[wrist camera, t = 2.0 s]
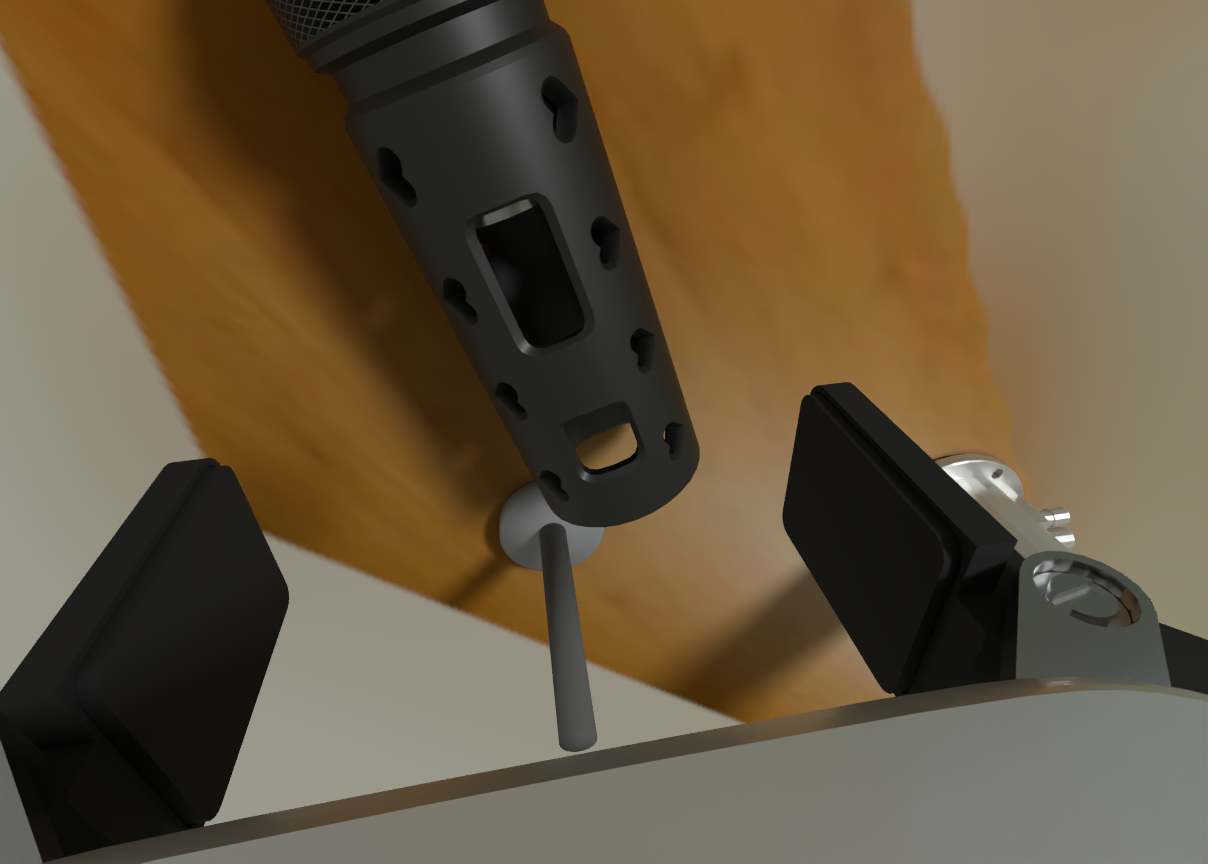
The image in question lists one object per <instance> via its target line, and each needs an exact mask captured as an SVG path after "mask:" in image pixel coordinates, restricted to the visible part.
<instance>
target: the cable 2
mask: <svg viewBox="0 0 1208 864" xmlns="http://www.w3.org/2000/svg"><path fill="white" fill-rule="evenodd" d="M499 532H500V542H501V546H502V548H503V550H504V551H505V553H506V554H507V555H508V556H509V557H510V558H511V559H512V560H513V561H514V562H516V563H518V564H519V565H521V566H524V567H526V568H529V569H533V570H539V571H543V580H544V590H545V601H546V611H547V622H548V632H549V642H550V653H551V662H552V673H553V684H554V694H555V705H556V715H557V725H558V736H559V745H560V747H561V748H562V749H564V750H566V751H570V752H578V751H583V750H586V749H588V748H590V747H591V746H593V745H594V744H595V742H596V741H597V733H596V726H595V720H594V713H593V706H592V700H591V693H590V687H589V680H588V673H587V667H586V660H585V654H584V647H583V640H582V634H581V627H580V621H579V614H578V607H577V601H576V594H575V588H574V581H573V575H572V568H571V567H572V566H574V565H576V564H578V563H580V562H582V561H584V560H585V559H587V558H588V557H589V556H590V555H591V554H592V553H593V552H594V551H595V550H596V549H597V547H598V546H599V544H600V542H601V540H602V538H603V534H604V527H583V526H577V525H573V524H570V523H568V522H566V521H563V520H561V519H560V518H559V517H558V516H556V515H555V514H554V513H553V512H552V510H551V509H550V507H549V506H548V504H547V502H546V501H545V499H544V497H543V495H542V493H541V491H540V489H539V487H538V486H537V484H536V482H535V481H532V482H530V483H527V484H525V485H523V486H522V487H520V488H518V489H517V490H516V491H514V492H513V493H512V494H511V495H510V496H509V497H508V498H507V500H506V501H505V503H504V504H503V507H502V509H501V512H500V518H499Z"/></svg>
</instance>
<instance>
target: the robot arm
mask: <svg viewBox="0 0 1208 864" xmlns="http://www.w3.org/2000/svg"><path fill="white" fill-rule="evenodd" d="M782 516H783V524H784V528H785V530H786V532H787V534H788V536H789V538H790V539H791V541H792V543H793V544H794V546H795V548H796V549H797V551H798V552H799V554H800V556H801V557H802V559H803V561H804V562H805V564H806V566H807V567H808V569H809V570H810V572H811V574H812V575H813V577H814V579H815V580H816V582H817V584H818V585H819V587H820V588H821V590H822V592H823V593H824V595H825V597H826V598H827V600H828V602H829V603H830V605H831V606H832V608H833V610H834V611H835V613H836V615H837V616H838V618H839V620H840V621H841V623H842V625H843V626H844V628H845V629H846V631H847V633H848V634H849V636H850V638H851V639H852V641H853V643H854V644H855V646H856V647H857V649H858V651H859V652H860V654H861V656H862V657H863V659H864V661H865V662H866V664H867V665H868V667H869V669H870V670H871V672H872V674H873V675H874V677H875V679H876V680H877V682H878V683H879V685H880V686H881V688H882V689H883V690H884V691H885V692H887V693H889V694H891V693H894V694H895V696H896V697H892V698H886V699H880V700H874V701H867V702H862V703H856V704H851V705H845V706H840V707H834V708H829V709H823V710H818V711H812V712H807V713H801V714H796V715H790V716H785V717H779V718H774V719H768V720H763V721H757V722H752V723H746V724H741V725H735V726H730V727H724V728H719V729H714V730H708V731H703V732H697V733H691V734H686V735H680V736H675V737H670V738H664V739H659V740H654V741H648V742H643V743H637V744H633V745H627V746H621V747H616V748H611V749H605V750H600V751H595V752H589V753H584V754H579V755H573V756H568V757H563V758H558V759H552V760H547V761H541V762H536V763H530V764H525V765H520V766H515V767H509V768H505V769H499V770H493V771H489V772H483V773H477V774H472V775H467V776H461V777H456V778H451V779H446V780H440V781H435V782H430V783H425V784H420V785H415V786H409V787H404V788H399V789H394V790H388V791H383V792H378V793H373V794H368V795H363V796H357V797H353V798H347V799H342V800H337V801H331V802H326V803H321V804H316V805H310V806H306V807H300V808H295V809H290V810H285V811H280V812H274V813H269V814H264V815H259V816H253V817H248V818H243V819H239V820H234V821H229V822H224V823H219V824H214V825H210V826H205V827H204V824H205V821H210V820H212V819H213V818H214V817H215V816H216V814H217V813H218V811H219V809H220V807H221V804H222V801H223V798H224V795H225V792H226V790H227V787H228V784H229V781H230V778H231V775H232V772H233V769H234V766H235V763H236V760H237V757H238V754H239V751H240V748H241V745H242V742H243V739H244V736H245V733H246V730H247V727H248V724H249V721H250V718H251V715H252V712H253V709H254V706H255V703H256V700H257V697H258V694H259V692H260V688H261V686H262V682H263V679H264V677H265V674H266V671H267V668H268V665H269V662H270V659H271V656H272V653H273V650H274V647H275V644H276V641H277V638H278V635H279V632H280V629H281V626H282V623H283V620H284V617H285V614H286V611H287V608H288V604H289V592H288V587H287V584H286V582H285V580H284V577H283V575H282V573H281V571H280V569H279V567H278V565H277V563H276V560H275V558H274V556H273V554H272V552H271V550H270V548H269V546H268V543H267V541H266V539H265V537H264V535H263V533H262V531H261V529H260V526H259V524H258V522H257V520H256V518H255V516H254V514H253V512H252V509H251V507H250V505H249V503H248V501H247V499H246V497H245V495H244V492H243V490H242V488H241V486H240V484H239V482H238V480H237V478H236V475H235V473H234V472H233V470H232V469H231V468H230V467H229V466H226V465H225V466H220V464H219V463H218V462H217V461H216V460H215V459H212V458H206V459H197V460H189V461H181V462H173V463H169V464H167V465H166V466H165V467H164V468H163V470H162V471H161V472H160V473H159V475H158V476H157V478H156V479H155V480H154V482H153V483H152V484H151V486H150V487H149V489H148V490H147V491H146V493H145V494H144V495H143V497H142V498H141V499H140V501H139V502H138V504H137V505H136V506H135V508H134V509H133V511H132V512H131V513H130V515H129V516H128V517H127V519H126V520H125V521H124V523H123V524H122V525H121V527H120V528H119V530H118V531H117V532H116V534H115V535H114V536H113V538H112V539H111V541H110V542H109V543H108V545H107V546H106V548H105V549H104V550H103V552H102V553H101V554H100V556H99V557H98V558H97V560H96V561H95V562H94V564H93V565H92V567H91V568H90V569H89V571H88V572H87V573H86V575H85V576H84V578H83V579H82V580H81V582H80V583H79V584H78V586H77V587H76V589H75V590H74V591H73V593H72V594H71V595H70V597H69V598H68V599H67V601H66V602H65V604H64V605H63V607H62V608H61V609H60V610H59V612H58V613H57V615H56V616H55V617H54V619H53V620H52V621H51V623H50V624H49V625H48V627H47V628H46V630H45V631H44V632H43V634H42V635H41V636H40V638H39V639H38V641H37V642H36V643H35V645H34V646H33V647H32V649H31V650H30V651H29V653H28V654H27V656H26V657H25V658H24V660H23V661H22V662H21V664H20V665H19V667H18V668H17V669H16V671H15V672H14V673H13V675H12V676H11V677H10V679H9V680H8V682H7V683H6V684H5V686H4V687H3V689H2V690H1V691H0V864H1208V640H1206V639H1203V638H1201V637H1198V636H1194V635H1192V634H1189V633H1187V632H1183V631H1181V630H1178V629H1175V628H1173V627H1170V626H1167V625H1164V624H1161V623H1159V622H1158V616H1157V612H1156V610H1155V608H1154V606H1153V603H1152V601H1151V599H1150V598H1149V597H1148V596H1147V595H1146V593H1145V592H1144V591H1143V590H1142V589H1141V588H1140V587H1139V586H1138V585H1137V584H1136V583H1134V582H1133V581H1132V580H1131V579H1129V578H1128V577H1126V576H1125V575H1124V574H1122V573H1121V572H1119V571H1117V570H1115V569H1114V568H1112V567H1110V566H1108V565H1106V564H1104V563H1102V562H1100V561H1097V560H1094V559H1091V558H1088V557H1086V556H1083V555H1079V554H1074V553H1072V552H1071V551H1070V550H1072V549H1073V547H1074V546H1075V539H1074V536H1073V534H1072V533H1071V532H1070V530H1069V529H1067V528H1066V527H1054V526H1061V525H1067V524H1068V523H1069V522H1070V515H1069V512H1068V511H1067V510H1066V509H1065V508H1063V507H1058V508H1051V509H1044V510H1042V511H1038V510H1036V509H1035V508H1034V507H1032V506H1031V505H1030V504H1029V503H1028V502H1027V501H1025V500H1024V499H1023V489H1022V485H1021V481H1020V479H1019V478H1018V476H1017V475H1016V473H1015V472H1014V471H1012V470H1011V469H1010V468H1009V467H1008V466H1007V465H1005V464H1004V463H1003V462H1001V461H999V460H998V459H996V458H994V457H990V456H987V455H983V454H961V455H954V456H950V457H946V458H943V459H939V460H936V461H934V460H933V459H931V458H930V457H929V456H928V455H927V454H926V453H925V452H924V451H923V450H922V449H921V448H920V447H919V446H918V445H917V444H916V443H915V442H913V441H912V440H911V439H910V438H909V437H908V436H907V435H906V434H905V433H904V432H903V431H902V430H901V429H900V428H899V427H898V426H897V425H895V424H894V423H893V422H892V421H891V420H890V419H889V418H888V417H887V416H886V415H885V414H884V413H883V412H882V411H881V410H880V409H879V408H877V407H876V406H875V405H874V404H873V403H872V402H871V401H870V400H869V399H868V398H867V397H866V396H865V395H864V394H863V393H862V392H861V391H860V390H858V389H857V388H856V387H855V386H854V385H853V384H851V383H850V382H844V383H835V384H827V385H818V386H816V387H814V388H813V389H812V391H811V393H810V395H806V396H805V397H804V398H803V399H802V402H801V407H800V413H799V419H798V425H797V431H796V437H795V442H794V448H793V454H792V460H791V466H790V472H789V478H788V484H787V490H786V496H785V501H784V507H783V515H782ZM1048 527H1053V528H1048Z"/></svg>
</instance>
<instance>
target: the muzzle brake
mask: <svg viewBox="0 0 1208 864" xmlns="http://www.w3.org/2000/svg"><path fill="white" fill-rule="evenodd" d="M267 2H268V4H269V6H270V8H271V10H272V11H273V13H274V15H275V17H276V19H277V21H278V22H279V24H280V26H281V28H282V30H283V32H284V33H285V35H286V37H287V39H288V41H289V43H290V44H291V46H292V48H293V50H294V52H295V53H296V55H297V56H298V57H301V58H303V59H306V60H308V62H309V64H310V65H311V67H312V69H313V71H314V72H315V73H321V74H327V75H333V77H334V79H335V80H336V82H337V84H338V86H339V88H340V90H341V92H342V94H343V95H344V97H345V99H346V101H347V103H348V105H349V107H348V111H347V114H346V118H345V125H346V130H347V132H348V134H349V136H350V138H351V140H352V142H353V143H354V145H355V147H356V149H357V151H358V153H359V155H360V156H361V158H362V160H363V162H364V164H365V166H366V168H367V169H368V171H369V173H370V175H371V177H372V179H373V181H374V182H375V184H376V186H377V188H378V190H379V192H380V194H381V195H382V197H383V199H384V201H385V203H386V205H387V207H388V208H389V210H390V212H391V214H392V216H393V218H394V220H395V222H396V223H397V225H398V227H399V229H400V231H401V233H402V235H403V236H404V238H405V240H406V242H407V244H408V246H409V248H410V249H411V251H412V253H413V255H414V257H415V259H416V261H417V262H418V264H419V266H420V268H421V270H422V272H423V274H424V275H425V277H426V279H427V281H428V283H429V285H430V287H431V288H432V290H433V292H434V294H435V296H436V298H437V300H438V301H439V303H440V305H441V307H442V309H443V311H444V313H445V315H446V316H447V318H448V320H449V322H450V324H451V326H452V328H453V329H454V331H455V333H456V335H457V337H458V339H459V341H460V342H461V344H462V346H463V348H464V350H465V352H466V354H467V355H468V357H469V359H470V361H471V363H472V365H473V367H474V368H475V370H476V372H477V374H478V376H479V378H480V380H481V381H482V383H483V385H484V387H485V389H486V391H487V393H488V394H489V396H490V398H491V400H492V402H493V404H494V406H495V408H496V409H497V411H498V413H499V415H500V417H501V419H502V421H503V422H504V424H505V426H506V428H507V430H508V432H509V434H510V435H511V437H512V439H513V441H514V443H515V445H516V447H517V448H518V450H519V452H520V454H521V456H522V458H523V460H524V461H525V463H526V465H527V467H528V469H529V471H530V473H531V474H532V476H533V478H534V480H535V482H536V484H537V486H538V487H539V489H540V491H541V493H542V495H543V497H544V499H545V501H546V502H547V504H548V506H549V507H550V509H551V510H552V512H553V513H554V514H555V515H556V516H558V517H559V518H560V519H561V520H563V521H566V522H568V523H570V524H573V525H577V526H583V527H608V526H615V525H621V524H624V523H627V522H631V521H634V520H637V519H639V518H642V517H644V516H646V515H648V514H651V513H653V512H654V511H656V510H658V509H659V508H661V507H662V506H664V505H666V504H667V503H668V502H669V501H671V500H672V499H673V498H674V497H675V496H677V495H678V494H679V493H680V492H681V491H682V490H683V489H684V487H685V486H686V485H687V484H688V483H689V482H690V480H691V478H692V476H693V475H694V473H695V471H696V469H697V466H698V462H699V444H698V441H697V438H696V435H695V432H694V429H693V426H692V422H691V419H690V416H689V413H688V410H687V407H686V403H685V400H684V397H683V394H682V391H681V388H680V384H679V381H678V378H677V375H676V372H675V369H674V365H673V362H672V359H671V356H670V353H669V350H668V346H667V343H666V340H665V337H664V334H663V331H662V327H661V324H660V321H659V318H658V315H657V312H656V308H655V305H654V302H653V299H652V296H651V293H650V289H649V286H648V283H647V280H646V277H645V274H644V270H643V267H642V264H641V261H640V258H639V255H638V251H637V248H636V245H635V242H634V239H633V236H632V232H631V229H630V226H629V223H628V220H627V217H626V214H625V210H624V207H623V204H622V201H621V198H620V195H619V191H618V188H617V185H616V182H615V179H614V176H613V172H612V169H611V166H610V163H609V160H608V157H607V153H606V150H605V147H604V144H603V141H602V138H601V134H600V131H599V128H598V125H597V122H596V119H595V115H594V112H593V109H592V106H591V103H590V100H589V96H588V93H587V90H586V87H585V84H584V81H583V77H582V74H581V71H580V68H579V65H578V62H577V58H576V55H575V52H574V49H573V46H572V43H571V39H570V36H569V34H568V33H567V32H566V30H565V29H564V28H563V27H561V26H559V25H558V24H556V23H554V22H552V21H551V20H550V19H549V16H548V13H547V9H546V6H545V3H544V0H267ZM480 244H481V245H483V247H481V245H480ZM522 333H523V334H522ZM627 423H630V425H631V427H632V430H633V433H634V435H635V438H636V440H637V448H636V451H635V453H634V454H633V455H632V456H631V457H630V458H627V459H625V460H623V461H621V462H619V463H617V464H614V465H611V466H608V467H604V468H601V469H598V470H597V469H589V468H587V467H585V466H584V465H583V464H582V462H581V461H580V459H579V457H578V455H577V453H576V451H575V448H576V447H577V446H579V445H580V444H581V443H583V442H584V441H586V440H587V439H589V438H591V437H592V436H594V435H596V434H599V433H601V432H604V431H606V430H609V429H612V428H614V427H617V426H620V425H622V424H627ZM664 430H665V440H664V437H663V434H664Z"/></svg>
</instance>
